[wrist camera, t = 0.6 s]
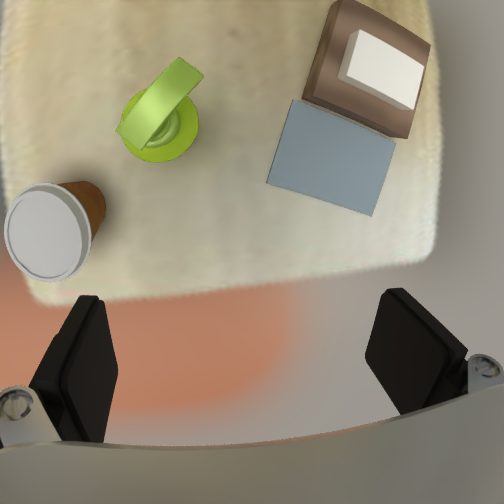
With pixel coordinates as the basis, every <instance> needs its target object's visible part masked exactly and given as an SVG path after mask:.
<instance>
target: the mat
mask: <svg viewBox="0 0 504 504" xmlns="http://www.w3.org/2000/svg"><path fill="white" fill-rule="evenodd" d="M395 146H396V143H394V142H392V141H390V140H388V139H386V138H384V137H382V136H380V135H378V134H376V133H374V132H372V131H369V130H367V129H365V128H363V127H361V126H358V125H356V124H354V123H351V122H349V121H347V120H345V119H342V118H340V117H337V116H335V115H333V114H330V113H328V112H325V111H323V110H320V109H318V108H315V107H312V106H310V105H307V104H304V103H302V102H299V101H296V100H292V103H291V106H290V110H289V113H288V116H287V119H286V122H285V125H284V128H283V132H282V135H281V138H280V141H279V144H278V147H277V151H276V154H275V157H274V160H273V163H272V166H271V170H270V173H269V176H268V179H267V182H266V183H268V184H271V185H275V186H278V187H281V188H285V189H288V190H291V191H295V192H298V193H301V194H305V195H308V196H311V197H314V198H317V199H321V200H324V201H327V202H330V203H333V204H336V205H339V206H342V207H345V208H348V209H351V210H354V211H357V212H360V213H363V214H366V215H369V216H372V214H373V211H374V209H375V206H376V203H377V200H378V197H379V195H380V192H381V189H382V186H383V183H384V180H385V177H386V174H387V171H388V168H389V165H390V162H391V159H392V155H393V152H394V149H395Z"/></svg>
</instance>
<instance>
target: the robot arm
mask: <svg viewBox="0 0 504 504" xmlns="http://www.w3.org/2000/svg"><path fill="white" fill-rule="evenodd" d="M467 352H468V349H467V348H466V347H465V346H464V345H463V344H462V343H461V342H460V341H459V340H458V339H457V338H456V337H455V336H454V335H453V334H452V333H450V331H448V329H446V328H445V327H444V326H443V325H442V324H441V323H440V322H439V321H438V320H437V319H436V318H435V317H434V316H432V314H431V313H429V311H427V310H426V309H425V308H424V307H423V306H422V305H421V304H420V303H419V302H418V301H417V300H416V299H414V298H413V297H412V296H411V295H410V294H409V293H408V292H407V291H406V290H404V289H403V288H390V289H387V290H386V291H385V293H383V294H382V295H381V298H380V302H379V306H378V310H377V314H376V317H375V321H374V325H373V329H372V332H371V336H370V339H369V342H368V346H367V349H366V352H365V359H366V362H367V364H368V365H369V367H370V368H371V370H372V371H373V373H374V374H375V376H376V377H377V379H378V380H379V382H380V384H381V385H382V386H383V388H384V390H385V391H386V393H387V394H388V396H389V397H390V399H391V401H392V402H393V404H394V405H395V407H396V408H397V410H398V411H399V413H400V416H396V417H393V418H389V419H385V420H381V421H377V422H373V423H369V424H365V425H361V426H356V427H351V428H347V429H342V430H337V431H332V432H326V433H321V434H315V435H309V436H302V437H295V438H289V439H281V440H273V441H263V442H254V443H241V444H228V445H206V446H145V445H123V444H109V443H108V444H107V443H103V442H104V436H105V431H106V426H107V421H108V416H109V412H110V406H111V402H112V398H113V393H114V389H115V385H116V381H117V376H118V365H117V361H116V357H115V352H114V348H113V344H112V339H111V334H110V329H109V325H108V319H107V314H106V308H105V303H104V301H103V300H99V298H98V296H91V295H80V296H79V298H78V299H77V301H76V303H75V305H74V306H73V308H72V310H71V311H70V313H69V315H68V317H67V318H66V320H65V322H64V324H63V325H62V328H61V329H60V331H59V333H58V334H56V335H55V337H54V338H53V340H52V342H51V344H50V345H49V347H48V349H47V351H46V353H45V355H44V357H43V358H42V361H41V362H40V364H39V366H38V368H37V370H36V372H35V374H34V376H33V378H32V380H31V382H30V384H29V386H28V387H26V386H22V385H19V386H17V385H15V386H11V387H8V388H6V389H4V390H2V391H1V392H0V504H504V371H503V368H502V366H501V365H500V364H499V362H497V361H496V360H495V359H493V358H492V357H490V356H487V355H484V354H475V355H472V356H471V357H470V358H469V359H468V361H466V360H465V359H464V358H465V356H466V354H467Z"/></svg>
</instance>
